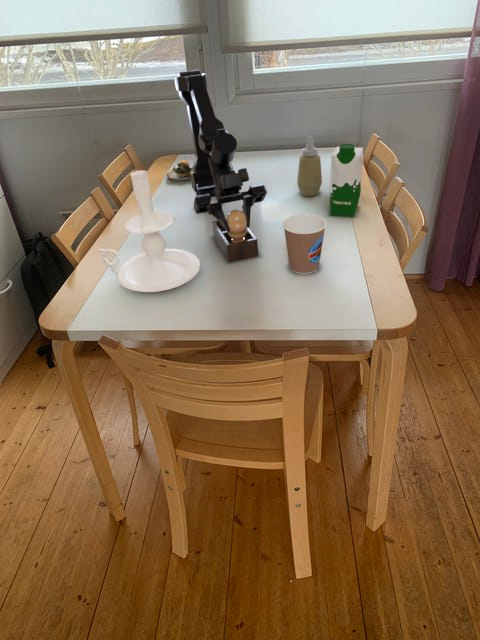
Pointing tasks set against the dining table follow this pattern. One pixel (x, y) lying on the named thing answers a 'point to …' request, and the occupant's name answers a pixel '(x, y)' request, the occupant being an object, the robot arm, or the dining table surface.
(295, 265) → the coffee cup
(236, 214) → the egg
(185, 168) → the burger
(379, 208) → the dining table surface
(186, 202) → the dining table surface
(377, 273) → the dining table surface
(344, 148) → the milk carton
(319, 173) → the squeeze bottle
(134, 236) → the dining table surface
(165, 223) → the candlestick
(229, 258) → the dark brown wooden tray
